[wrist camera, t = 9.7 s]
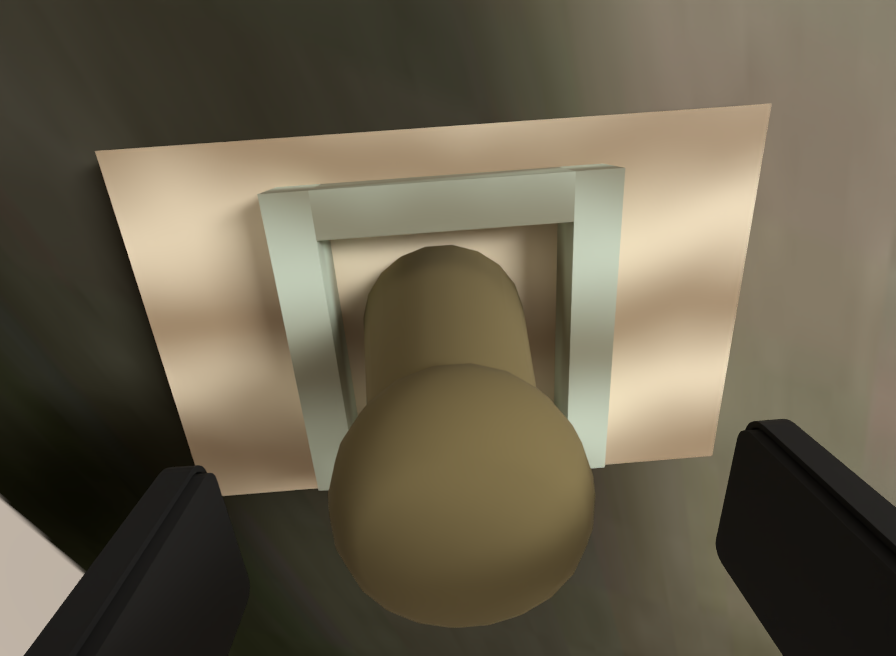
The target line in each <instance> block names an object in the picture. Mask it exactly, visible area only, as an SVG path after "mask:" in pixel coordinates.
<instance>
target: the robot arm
mask: <svg viewBox="0 0 896 656" xmlns="http://www.w3.org/2000/svg"><path fill="white" fill-rule="evenodd" d="M716 550H717V554H718V556H719V559H720V561H721V563H722V564H723V566H724V567H725V569H726V570H727V572H728V573H729V575H730V576H731V578H732V579H733V581H734V582H735V584H736V585H737V587H738V588H739V590H740V591H741V593H742V594H743V596H744V598H745V599H746V601H747V602H748V604H749V605H750V607H751V608H752V610H753V611H754V613H755V614H756V616H757V617H758V619H759V620H760V622H761V623H762V625H763V626H764V628H765V629H766V631H767V632H768V634H769V635H770V637H771V638H772V640H773V641H774V643H775V644H776V646H777V647H778V649H779V650H780V652H781V653H782V655H783V656H896V507H895V506H893V505H892V504H891V503H890V502H889V501H887V500H886V499H885V498H884V497H883V496H881V495H880V494H879V493H878V492H877V491H875V490H874V489H873V488H872V487H871V486H869V485H868V484H867V483H866V482H865V481H863V480H862V479H861V478H860V477H859V476H857V475H856V474H855V473H854V472H852V471H851V470H850V469H849V468H848V467H846V466H845V465H844V464H843V463H842V462H840V461H839V460H838V459H837V458H836V457H834V456H833V455H832V454H831V453H830V452H828V451H827V450H826V449H825V448H824V447H822V446H821V445H820V444H819V443H818V442H816V441H815V440H814V439H813V438H812V437H810V436H809V435H808V434H807V433H806V432H804V431H803V430H802V429H801V428H800V427H798V426H797V425H796V424H795V423H793V422H792V421H790V420H787V419H776V420H764V421H753V422H750V423H749V424H748V425H747V427H746V430H744V431H741V432H740V433H739V435H738V438H737V442H736V447H735V452H734V456H733V461H732V466H731V471H730V476H729V480H728V485H727V490H726V495H725V499H724V504H723V509H722V514H721V518H720V523H719V528H718V533H717V537H716ZM249 589H250V584H249V578H248V575H247V572H246V568H245V565H244V562H243V559H242V556H241V553H240V550H239V547H238V544H237V540H236V537H235V534H234V531H233V528H232V525H231V522H230V519H229V515H228V512H227V509H226V506H225V503H224V500H223V497H222V494H221V490H220V487H219V484H218V481H217V478H216V476H215V475H214V474H213V473H207V472H206V469H205V468H204V467H203V466H200V465H194V466H182V467H169V468H166V469H164V470H163V471H162V472H161V473H160V474H159V475H158V476H157V478H156V479H155V480H154V482H153V483H152V484H151V486H150V487H149V488H148V490H147V491H146V492H145V494H144V495H143V496H142V498H141V499H140V500H139V502H138V503H137V504H136V506H135V507H134V508H133V510H132V511H131V512H130V514H129V515H128V516H127V518H126V519H125V521H124V522H123V523H122V525H121V526H120V527H119V529H118V530H117V531H116V533H115V534H114V535H113V537H112V538H111V539H110V541H109V542H108V543H107V545H106V546H105V547H104V549H103V550H102V551H101V553H100V554H99V555H98V557H97V558H96V559H95V561H94V562H93V563H92V565H91V566H90V567H89V569H88V570H87V571H86V573H85V574H84V575H83V577H82V578H81V580H80V581H79V582H78V584H77V585H76V586H75V588H74V589H73V590H72V592H71V593H70V594H69V596H68V597H67V598H66V600H65V601H64V602H63V604H62V605H61V606H60V608H59V609H58V610H57V612H56V613H55V614H54V616H53V617H52V618H51V620H50V621H49V623H48V624H47V625H46V626H45V628H44V629H43V630H42V632H41V633H40V635H39V636H38V637H37V639H36V640H35V641H34V643H33V644H32V645H31V647H30V648H29V649H28V651H27V652H26V653H25V655H24V656H228V653H229V651H230V648H231V645H232V643H233V640H234V637H235V634H236V632H237V629H238V626H239V623H240V621H241V618H242V615H243V613H244V610H245V607H246V604H247V601H248V597H249Z"/></svg>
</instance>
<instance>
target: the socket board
mask: <svg viewBox="0 0 896 656" xmlns="http://www.w3.org/2000/svg"><path fill="white" fill-rule="evenodd" d="M770 110H771V104H759V105H745V106H731V107H717V108H702V109H688V110H674V111H660V112H645V113H631V114H617V115H603V116H588V117H574V118H560V119H546V120H531V121H517V122H503V123H489V124H475V125H460V126H446V127H432V128H418V129H403V130H389V131H375V132H361V133H346V134H332V135H318V136H304V137H290V138H275V139H261V140H247V141H233V142H218V143H204V144H190V145H176V146H161V147H147V148H133V149H119V150H105V151H95V153H96V156H97V159H98V162H99V165H100V168H101V171H102V174H103V178H104V181H105V184H106V187H107V190H108V193H109V196H110V200H111V203H112V206H113V209H114V212H115V215H116V218H117V222H118V225H119V228H120V231H121V234H122V237H123V240H124V244H125V247H126V250H127V253H128V256H129V259H130V262H131V265H132V269H133V272H134V275H135V278H136V281H137V284H138V287H139V291H140V294H141V297H142V300H143V303H144V306H145V309H146V313H147V316H148V319H149V322H150V325H151V328H152V331H153V334H154V338H155V341H156V344H157V347H158V350H159V353H160V356H161V360H162V363H163V366H164V369H165V372H166V375H167V378H168V382H169V385H170V388H171V391H172V394H173V397H174V400H175V403H176V407H177V410H178V413H179V416H180V419H181V422H182V425H183V429H184V432H185V435H186V438H187V441H188V444H189V447H190V451H191V454H192V457H193V460H194V463H195V465H200V466H203V467H204V468H205V469H206V472H207V473H213V474H214V475H215V476H216V478H217V481H218V484H219V487H220V490H221V494H222V496H228V495H240V494H252V493H265V492H277V491H289V490H301V489H313V488H318V490H319V491H322V490H329V487H330V482H331V478H332V473H333V468H334V463H335V459H336V456H337V453H338V449H339V446H340V443H341V441H342V439H343V438H344V436H345V435H346V433H347V432H348V430H349V429H350V427H351V426H352V424H353V423H354V421H355V420H356V418H357V417H358V415H359V414H360V412H361V411H362V410H363V408H364V407H365V406H366V405H367V401H366V374H365V347H364V319H363V317H364V313H365V308H366V303H367V298H368V294H369V292H370V291H371V289H372V287H373V286H374V284H375V282H376V281H377V279H378V278H379V276H380V274H381V273H382V272H383V271H384V270H385V269H387V268H388V267H389V266H390V265H391V264H393V263H394V262H395V261H396V260H397V259H398V258H400V257H401V256H403V255H406V254H408V253H411V252H413V251H416V250H418V249H421V248H423V247H427V246H441V245H455V246H459V247H463V248H467V249H471V250H475V251H478V252H480V253H482V254H483V255H485V256H486V257H488V258H489V259H491V260H493V261H494V262H496V263H497V264H499V265H500V266H501V267H502V269H503V270H504V271H505V272H506V274H507V275H508V276H509V277H510V279H511V280H512V281H513V282H514V284H515V286H516V289H517V291H518V294H519V297H520V300H521V303H522V306H523V311H524V317H525V323H526V329H527V335H528V341H529V347H530V353H531V359H532V365H533V371H534V377H535V383H536V388H538V389H539V390H540V391H541V392H543V393H544V394H545V395H546V396H547V397H549V398H550V399H551V401H552V402H553V403H554V404H555V405H556V406H557V408H558V409H559V410H560V411H561V412H562V413H563V415H564V416H565V417H566V418H567V419H568V420H569V422H570V423H571V424H572V425H573V427H574V429H575V431H576V433H577V434H578V436H579V438H580V440H581V442H582V445H583V448H584V450H585V453H586V456H587V459H588V462H589V465H590V468H601V467H605V464H617V463H629V462H641V461H653V460H666V459H678V458H690V457H702V456H712V453H713V447H714V441H715V435H716V430H717V424H718V418H719V412H720V406H721V400H722V394H723V388H724V382H725V376H726V370H727V364H728V359H729V353H730V347H731V341H732V335H733V329H734V323H735V317H736V311H737V305H738V299H739V293H740V288H741V282H742V276H743V270H744V264H745V258H746V252H747V246H748V240H749V234H750V228H751V222H752V217H753V211H754V205H755V199H756V193H757V187H758V181H759V175H760V169H761V163H762V157H763V151H764V145H765V140H766V134H767V128H768V122H769V116H770Z"/></svg>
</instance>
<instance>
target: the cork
mask: <svg viewBox="0 0 896 656" xmlns="http://www.w3.org/2000/svg"><path fill="white" fill-rule="evenodd" d="M363 319H364V347H365V374H366V401H367V405H366V406H365V407H364V408H363V410H362V411H361V412H360V414H359V415H358V417H357V418H356V420H355V421H354V423H353V424H352V426H351V427H350V429H349V430H348V432H347V433H346V435H345V436H344V438H343V439H342V441H341V443H340V446H339V449H338V453H337V456H336V459H335V463H334V468H333V473H332V478H331V482H330V487H329V492H328V504H329V515H330V521H331V526H332V531H333V536H334V542H335V547H336V549H337V551H338V553H339V554H340V556H341V558H342V559H343V561H344V563H345V564H346V566H347V568H348V569H349V571H350V572H351V574H352V575H353V577H354V578H355V580H356V582H357V583H358V585H359V586H360V588H361V589H362V591H363V592H364V593H366V594H367V595H368V596H370V597H371V598H372V599H373V600H375V601H376V602H377V603H379V604H380V605H381V606H382V607H384V608H385V609H386V610H388V611H390V612H392V613H395V614H397V615H400V616H402V617H405V618H407V619H410V620H412V621H415V622H417V623H421V624H428V625H436V626H443V627H450V628H459V627H471V626H483V625H490V624H494V623H497V622H500V621H503V620H506V619H510V618H513V617H516V616H519V615H522V614H524V613H526V612H527V611H529V610H531V609H532V608H534V607H536V606H537V605H539V604H541V603H542V602H544V601H546V600H547V599H549V598H551V597H552V596H553V595H554V594H555V593H556V592H557V591H558V590H559V589H560V587H561V586H562V585H563V584H564V583H565V582H566V581H567V580H568V579H569V578H570V577H571V576H572V575H573V574H574V572H575V569H576V567H577V565H578V563H579V561H580V559H581V557H582V555H583V553H584V550H585V548H586V546H587V543H588V540H589V537H590V535H591V532H592V529H593V520H594V505H595V490H594V481H593V474H592V471H591V468H590V465H589V462H588V459H587V456H586V453H585V450H584V448H583V445H582V442H581V440H580V438H579V436H578V434H577V433H576V431H575V429H574V427H573V425H572V424H571V423H570V422H569V420H568V419H567V418H566V417H565V416H564V415H563V413H562V412H561V411H560V410H559V409H558V408H557V406H556V405H555V404H554V403H553V402H552V401H551V399H550V398H549V397H547V396H546V395H545V394H544V393H543V392H541V391H540V390H539V389H538V388H536V383H535V377H534V371H533V365H532V359H531V353H530V347H529V341H528V335H527V329H526V323H525V317H524V311H523V306H522V303H521V300H520V297H519V294H518V291H517V289H516V286H515V284H514V282H513V281H512V280H511V279H510V277H509V276H508V275H507V274H506V272H505V271H504V270H503V269H502V267H501V266H500V265H499V264H497V263H496V262H494V261H493V260H491V259H489V258H488V257H486V256H485V255H483V254H482V253H480V252H478V251H475V250H471V249H467V248H463V247H459V246H455V245H441V246H427V247H423V248H421V249H418V250H416V251H413V252H411V253H408V254H406V255H403V256H401V257H400V258H398V259H397V260H396V261H395V262H394V263H393V264H391V265H390V266H389V267H388V268H387V269H385V270H384V271H383V272H382V273H381V274H380V276H379V278H378V279H377V281H376V282H375V284H374V286H373V287H372V289H371V291H370V292H369V294H368V298H367V303H366V308H365V313H364V317H363Z"/></svg>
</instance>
